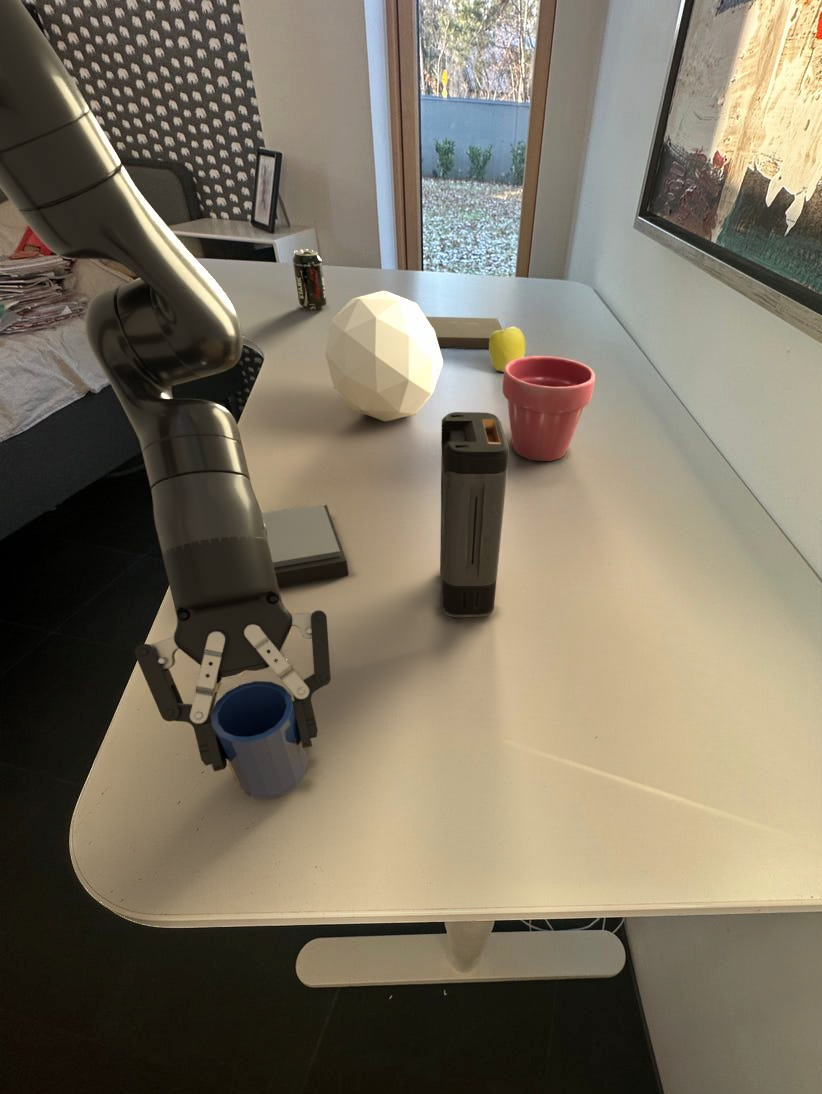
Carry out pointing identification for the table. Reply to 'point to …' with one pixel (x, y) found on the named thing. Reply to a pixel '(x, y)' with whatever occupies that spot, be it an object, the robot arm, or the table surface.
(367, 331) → the geometric sculpture
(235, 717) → the cup
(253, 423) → the table surface
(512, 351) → the apple
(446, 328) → the hardcover book
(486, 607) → the electronic device
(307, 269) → the beverage can
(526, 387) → the flower pot
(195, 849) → the table surface
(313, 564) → the kitchen scale
